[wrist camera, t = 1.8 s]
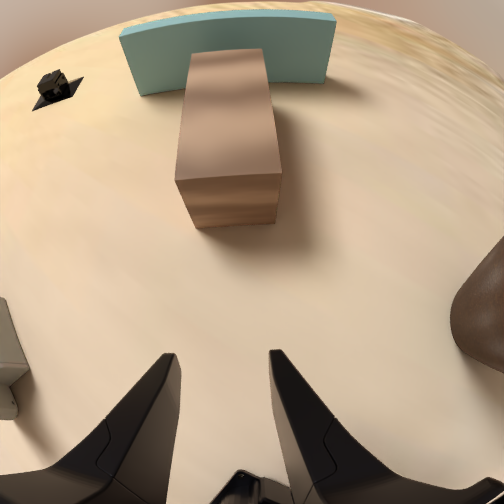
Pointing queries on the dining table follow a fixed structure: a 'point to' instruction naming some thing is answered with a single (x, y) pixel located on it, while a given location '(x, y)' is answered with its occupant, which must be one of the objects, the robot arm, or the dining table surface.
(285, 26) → the teal board
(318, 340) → the dining table surface
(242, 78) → the walnut block
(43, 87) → the black block on plate
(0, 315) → the digital clock
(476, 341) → the plant pot
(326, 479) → the robot arm
